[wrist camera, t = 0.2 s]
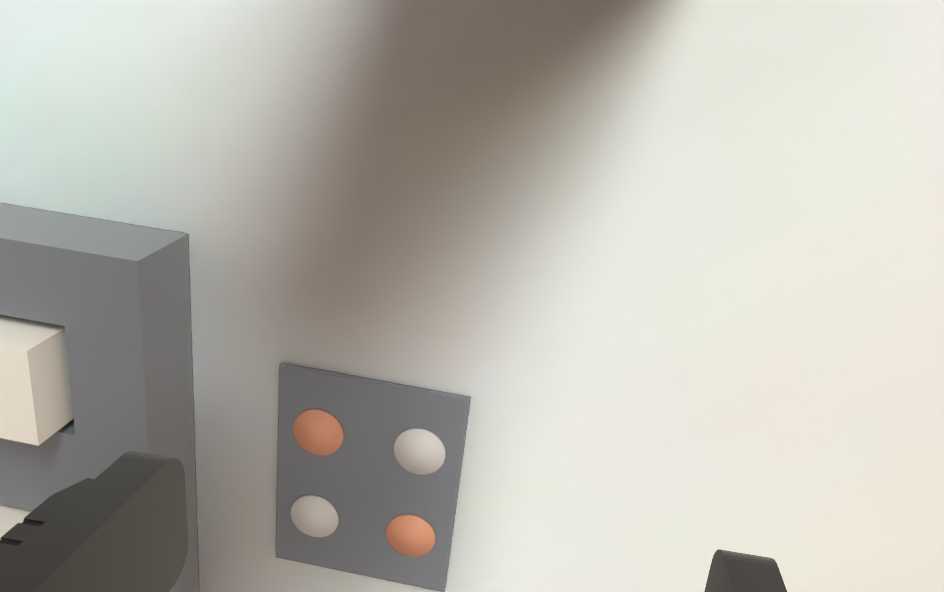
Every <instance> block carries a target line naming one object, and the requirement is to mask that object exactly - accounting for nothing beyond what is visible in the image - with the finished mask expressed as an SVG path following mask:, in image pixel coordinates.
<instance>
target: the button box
mask: <svg viewBox="0 0 944 592" xmlns="http://www.w3.org/2000/svg"><path fill="white" fill-rule="evenodd" d="M0 315H6V316H11V317H17V318H22V319H28V320H33V321H39V322H45V323H50V324H56V325H61V326H64V328H65V338H66V348H67V357H68V367H69V377H70V387H71V397H72V407H73V417H74V419H72V420H71V421H70V422H69V423H67V424H66V425H65V426H63V427H62V428H61V429H60V430H58V431H57V432H56V433H54V434H53V435H52V436H51V437H49V438H48V439H47V440H45V441H44V442H43V443H42V444H40V445H39V446H38V445H33V444H28V443H23V442H18V441H13V440H8V439H3V438H0V503H1V504H6V505H11V506H15V507H20V508H25V509H30V510H34V509H35V508H37V507H38V506H39V505H40V504H41V503H43V502H44V501H45V500H46V499H47V498H49V497H50V496H51V495H53V494H55V493H57V492H59V491H61V490H63V489H65V488H67V487H69V486H72V485H74V484H76V483H78V482H80V481H82V480H84V479H86V478H91V479H95V478H96V477H98V476H99V475H100V474H101V473H102V472H103V471H104V470H106V469H107V468H108V467H109V466H110V465H111V464H112V463H114V462H115V461H116V460H117V459H118V458H119V457H120V456H122V455H123V454H124V453H126V452H129V451H135V452H141V453H147V454H153V455H159V456H165V457H171V458H177V459H179V460H180V461H181V462H182V464H183V467H184V472H185V489H186V507H187V526H188V551H187V556H186V560H185V563H184V566H183V569H182V572H181V574H180V576H179V578H178V580H177V581H176V583H175V584H174V586H173V587H172V589H171V590H170V591H169V592H199V571H198V538H197V505H196V472H195V439H194V406H193V373H192V340H191V307H190V274H189V241H188V234H187V233H181V232H174V231H168V230H162V229H156V228H150V227H144V226H138V225H132V224H126V223H120V222H114V221H108V220H101V219H95V218H89V217H83V216H77V215H71V214H65V213H59V212H53V211H47V210H41V209H35V208H29V207H22V206H16V205H10V204H4V203H0Z"/></svg>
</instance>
